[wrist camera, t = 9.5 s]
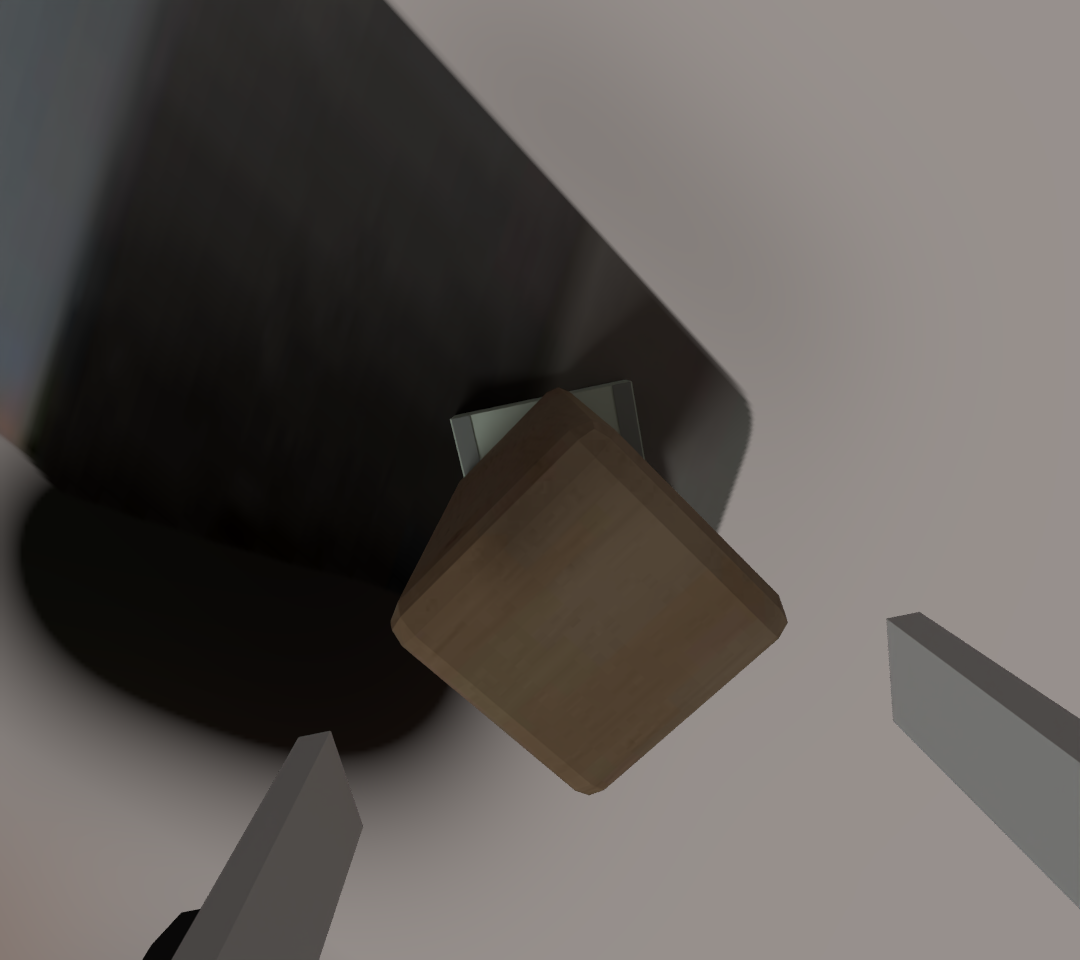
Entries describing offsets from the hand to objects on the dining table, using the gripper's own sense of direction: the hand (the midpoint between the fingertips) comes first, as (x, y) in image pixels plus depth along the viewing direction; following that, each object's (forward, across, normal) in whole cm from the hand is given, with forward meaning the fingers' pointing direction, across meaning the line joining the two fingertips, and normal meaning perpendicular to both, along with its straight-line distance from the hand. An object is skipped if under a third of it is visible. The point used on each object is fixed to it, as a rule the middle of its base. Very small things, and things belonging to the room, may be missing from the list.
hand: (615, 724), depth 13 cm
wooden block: (+25, 0, -1) cm, 25 cm away
